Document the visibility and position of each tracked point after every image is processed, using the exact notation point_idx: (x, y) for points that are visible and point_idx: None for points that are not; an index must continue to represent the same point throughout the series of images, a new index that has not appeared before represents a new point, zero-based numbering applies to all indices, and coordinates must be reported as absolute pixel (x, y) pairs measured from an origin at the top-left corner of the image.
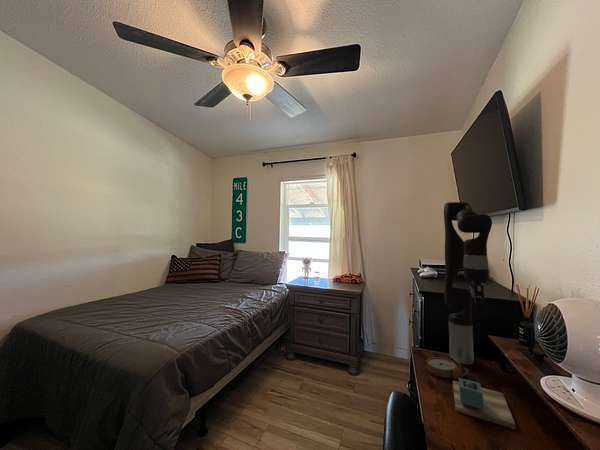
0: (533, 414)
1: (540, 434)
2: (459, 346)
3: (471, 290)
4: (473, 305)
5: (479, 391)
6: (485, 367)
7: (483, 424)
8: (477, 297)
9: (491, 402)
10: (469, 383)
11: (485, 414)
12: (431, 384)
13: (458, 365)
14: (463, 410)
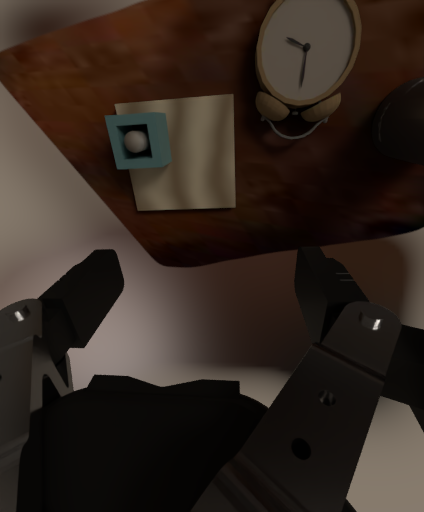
0: (207, 242)
1: (155, 238)
2: (410, 114)
3: (272, 408)
4: (301, 258)
5: (120, 163)
6: (376, 186)
7: None
8: (56, 371)
9: (183, 181)
10: (126, 141)
11: None
12: (196, 27)
13: (308, 110)
14: None
